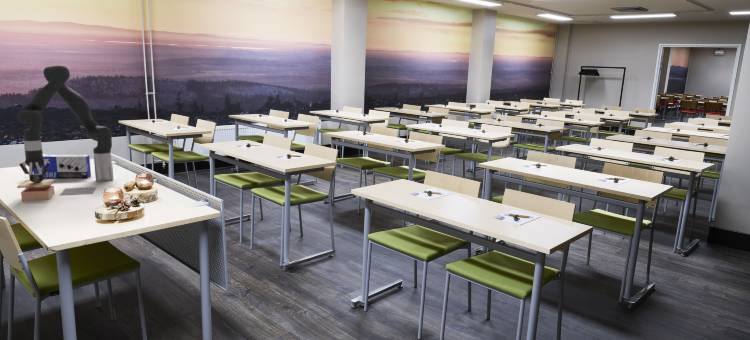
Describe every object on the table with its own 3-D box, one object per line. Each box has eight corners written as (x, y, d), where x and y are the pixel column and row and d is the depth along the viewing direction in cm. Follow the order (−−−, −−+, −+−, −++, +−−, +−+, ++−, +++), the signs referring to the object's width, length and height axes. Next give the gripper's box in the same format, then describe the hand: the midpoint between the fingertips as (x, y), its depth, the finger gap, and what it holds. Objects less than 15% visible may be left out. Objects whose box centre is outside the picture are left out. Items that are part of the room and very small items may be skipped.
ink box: (33, 179, 305) (30, 156, 302) (38, 177, 311) (36, 154, 309) (87, 178, 311) (85, 156, 308) (91, 176, 317) (89, 154, 314)
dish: (54, 194, 272) (53, 185, 271) (49, 200, 261) (48, 191, 260) (28, 195, 268) (27, 186, 267) (22, 201, 257) (20, 192, 256)
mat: (97, 187, 289) (97, 186, 289) (92, 194, 274) (92, 193, 274) (65, 189, 284) (65, 188, 283) (59, 196, 269) (58, 195, 269)
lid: (55, 182, 272) (54, 171, 271) (49, 188, 259) (48, 176, 258) (25, 183, 267) (24, 172, 266) (17, 189, 255) (16, 178, 253)
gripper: (51, 147, 265) (54, 179, 269) (19, 148, 261) (23, 180, 264) (47, 149, 259) (50, 182, 262) (15, 150, 254) (18, 183, 257)
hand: (36, 181), depth 263 cm, fingers closed on lid, 3 cm apart
